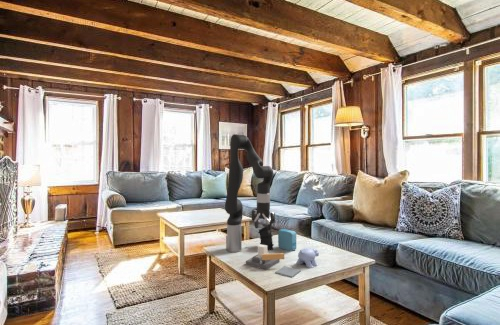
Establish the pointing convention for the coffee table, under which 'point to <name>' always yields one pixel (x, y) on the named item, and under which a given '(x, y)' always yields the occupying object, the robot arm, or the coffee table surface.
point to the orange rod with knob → (271, 256)
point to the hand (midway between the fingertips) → (263, 229)
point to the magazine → (266, 238)
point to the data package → (287, 239)
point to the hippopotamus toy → (308, 257)
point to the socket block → (261, 262)
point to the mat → (288, 271)
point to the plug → (262, 250)
